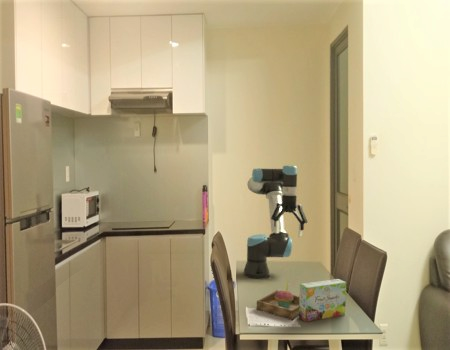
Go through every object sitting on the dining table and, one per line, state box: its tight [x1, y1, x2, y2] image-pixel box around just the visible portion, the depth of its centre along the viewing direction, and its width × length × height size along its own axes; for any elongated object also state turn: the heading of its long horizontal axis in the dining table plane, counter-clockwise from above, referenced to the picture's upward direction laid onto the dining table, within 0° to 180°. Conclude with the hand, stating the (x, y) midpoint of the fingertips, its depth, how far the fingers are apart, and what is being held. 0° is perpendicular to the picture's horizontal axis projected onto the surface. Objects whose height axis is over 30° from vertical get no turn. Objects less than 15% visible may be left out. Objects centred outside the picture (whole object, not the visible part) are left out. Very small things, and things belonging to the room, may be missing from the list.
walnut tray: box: [256, 290, 300, 321], centre depth 173 cm, size 18×18×4 cm
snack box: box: [298, 278, 347, 323], centre depth 164 cm, size 21×6×15 cm, turn 114°
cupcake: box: [275, 282, 294, 308], centre depth 173 cm, size 9×8×12 cm
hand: (288, 234), depth 199 cm, fingers open, 13 cm apart
